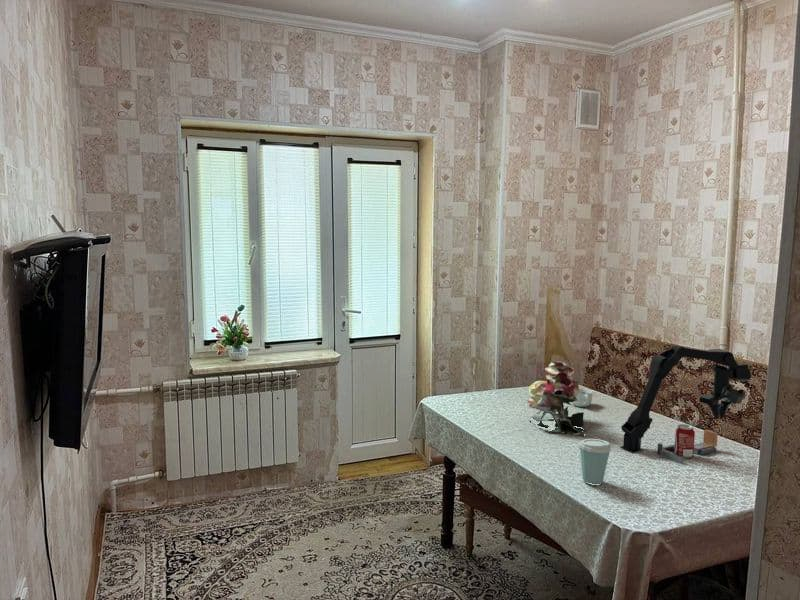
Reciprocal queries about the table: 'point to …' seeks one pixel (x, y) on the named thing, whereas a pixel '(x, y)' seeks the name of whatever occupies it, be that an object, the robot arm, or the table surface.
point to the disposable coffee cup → (594, 459)
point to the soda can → (684, 441)
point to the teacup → (583, 398)
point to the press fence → (669, 453)
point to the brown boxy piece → (707, 441)
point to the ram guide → (706, 450)
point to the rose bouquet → (556, 397)
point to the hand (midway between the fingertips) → (719, 418)
